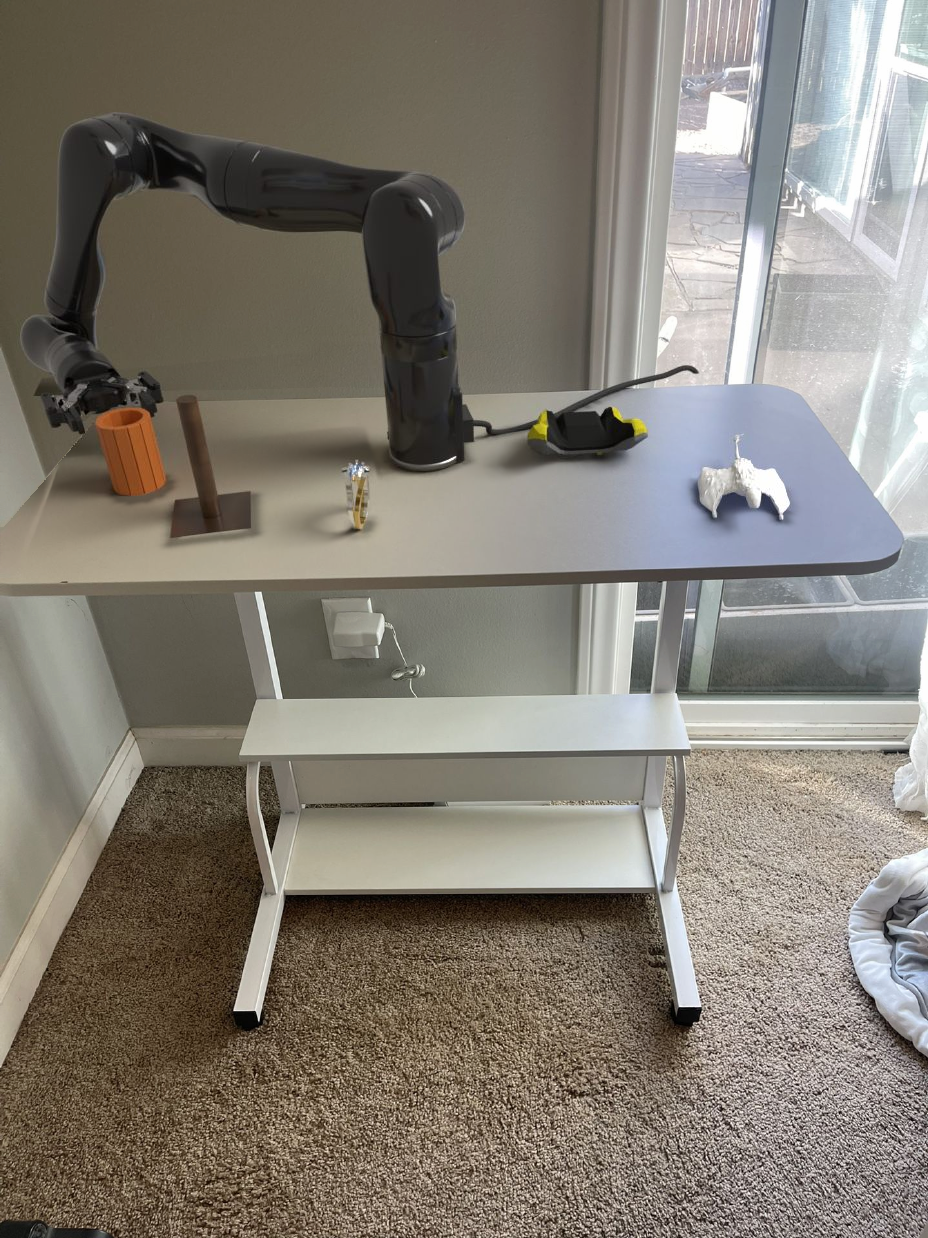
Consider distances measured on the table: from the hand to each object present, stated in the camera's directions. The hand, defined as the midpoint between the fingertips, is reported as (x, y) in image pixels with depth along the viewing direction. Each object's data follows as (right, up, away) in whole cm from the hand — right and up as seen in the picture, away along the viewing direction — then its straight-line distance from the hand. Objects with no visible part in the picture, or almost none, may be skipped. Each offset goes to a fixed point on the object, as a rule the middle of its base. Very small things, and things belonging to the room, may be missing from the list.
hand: (116, 418), depth 113 cm
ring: (+31, -14, -8) cm, 35 cm away
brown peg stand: (+13, -13, -5) cm, 19 cm away
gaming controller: (+58, -3, +6) cm, 59 cm away
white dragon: (+76, -10, -4) cm, 77 cm away
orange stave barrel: (+3, -8, +2) cm, 9 cm away
